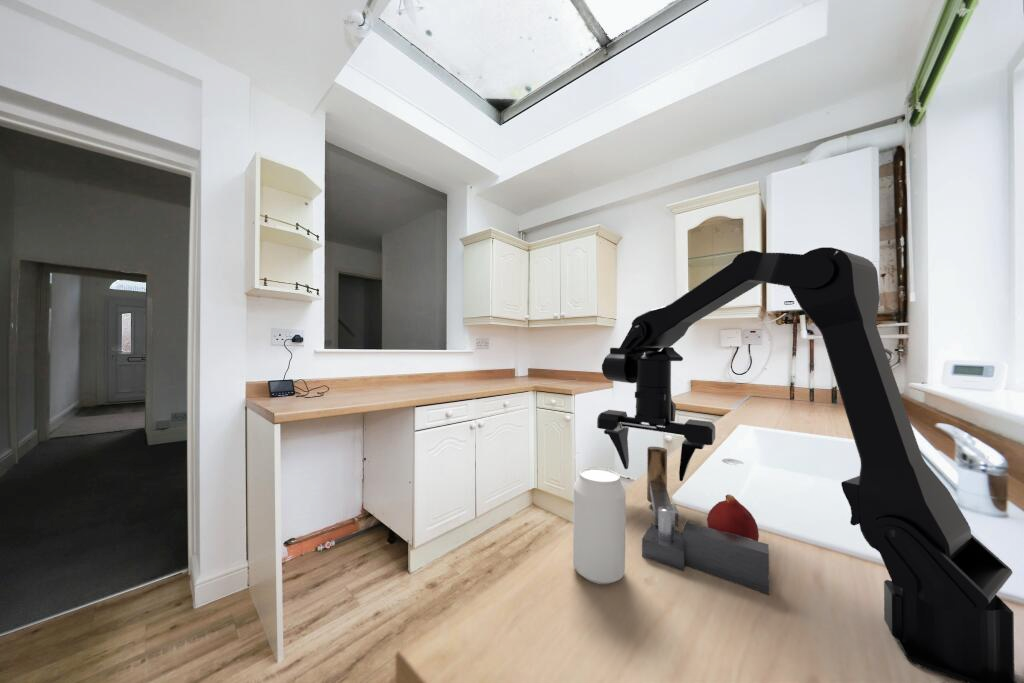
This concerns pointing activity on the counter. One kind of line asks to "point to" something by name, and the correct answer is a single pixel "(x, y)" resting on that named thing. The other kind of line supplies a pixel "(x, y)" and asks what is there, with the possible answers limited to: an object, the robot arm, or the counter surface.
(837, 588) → the counter surface
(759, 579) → the base
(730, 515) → the onion
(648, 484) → the lever
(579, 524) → the beverage can
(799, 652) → the counter surface
